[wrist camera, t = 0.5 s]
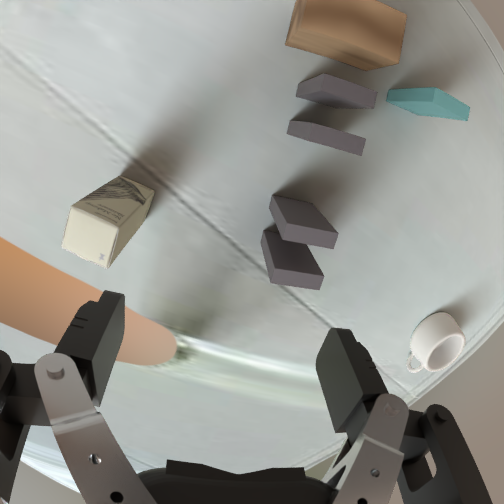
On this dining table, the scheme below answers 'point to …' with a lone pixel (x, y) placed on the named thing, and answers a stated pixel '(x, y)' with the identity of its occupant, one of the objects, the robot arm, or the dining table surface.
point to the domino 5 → (429, 103)
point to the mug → (436, 342)
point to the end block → (348, 31)
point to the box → (106, 220)
